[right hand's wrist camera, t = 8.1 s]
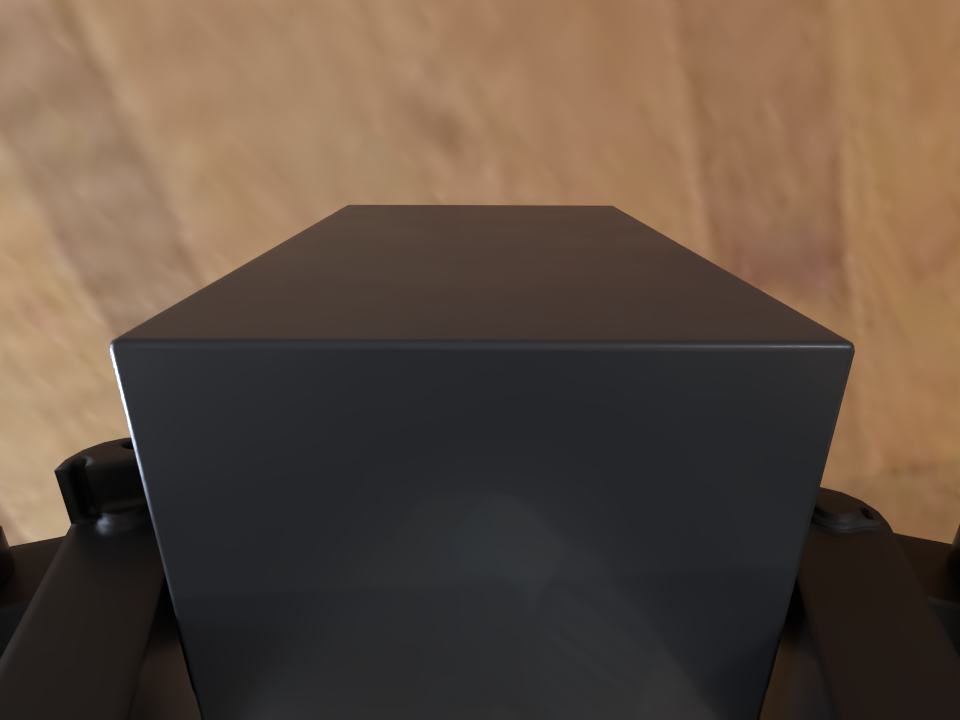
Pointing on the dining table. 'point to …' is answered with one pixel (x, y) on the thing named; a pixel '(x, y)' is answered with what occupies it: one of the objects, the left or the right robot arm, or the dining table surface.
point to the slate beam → (481, 470)
